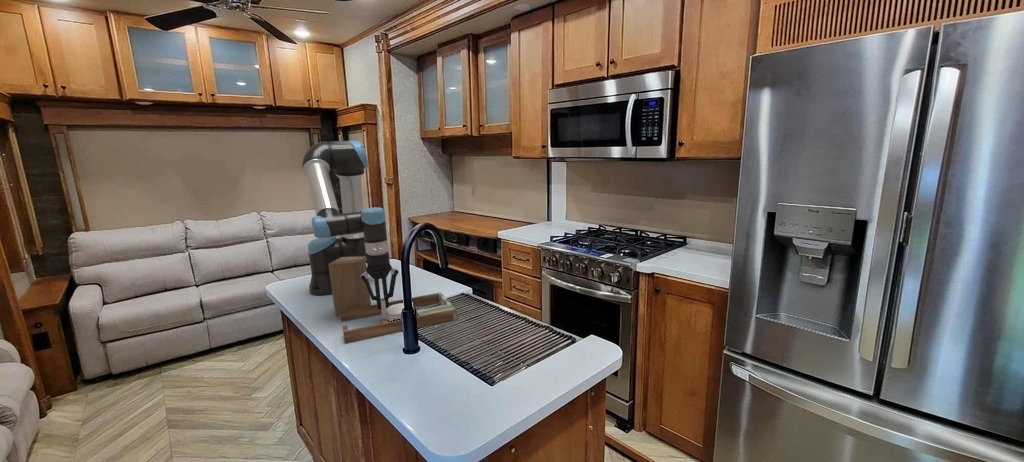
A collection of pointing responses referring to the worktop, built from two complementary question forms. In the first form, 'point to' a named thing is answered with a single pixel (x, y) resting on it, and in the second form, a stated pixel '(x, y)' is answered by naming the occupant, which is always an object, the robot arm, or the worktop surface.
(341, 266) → the wooden block
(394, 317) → the coaster
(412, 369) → the worktop surface
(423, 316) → the open wooden box
